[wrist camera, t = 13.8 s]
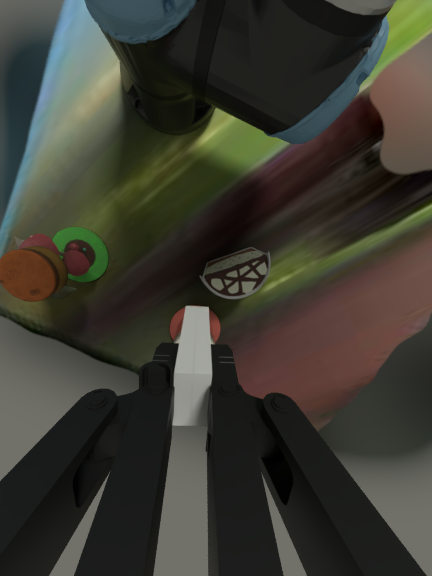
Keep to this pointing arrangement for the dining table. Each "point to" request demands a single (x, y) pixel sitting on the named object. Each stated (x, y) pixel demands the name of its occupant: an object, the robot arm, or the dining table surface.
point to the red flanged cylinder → (178, 322)
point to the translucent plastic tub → (52, 264)
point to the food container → (237, 273)
